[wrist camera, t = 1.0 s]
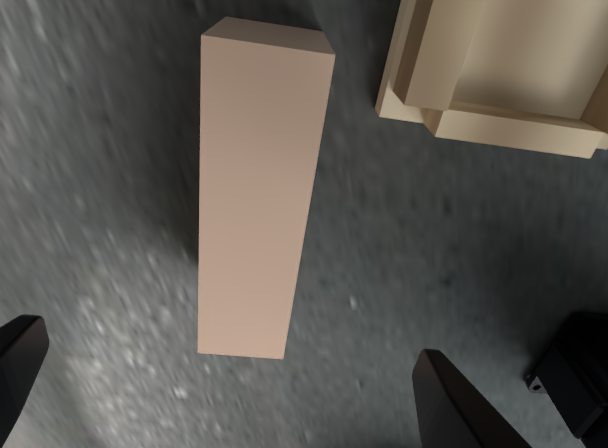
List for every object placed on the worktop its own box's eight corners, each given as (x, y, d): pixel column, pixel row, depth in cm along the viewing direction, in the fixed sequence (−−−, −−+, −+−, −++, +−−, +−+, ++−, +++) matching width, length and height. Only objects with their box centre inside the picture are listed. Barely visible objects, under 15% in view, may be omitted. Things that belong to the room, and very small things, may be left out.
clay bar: (322, 30, 15) (335, 55, 11) (284, 281, 21) (283, 359, 17) (226, 16, 15) (201, 34, 10) (216, 275, 21) (197, 353, 17)
